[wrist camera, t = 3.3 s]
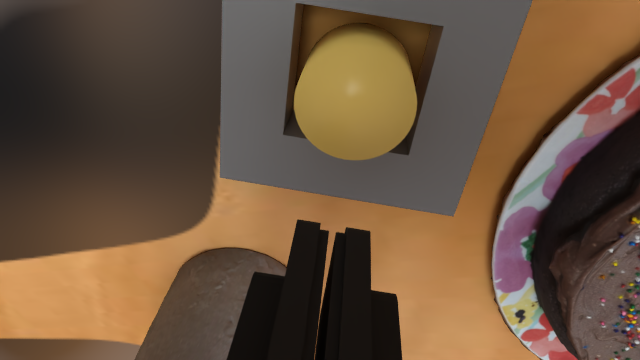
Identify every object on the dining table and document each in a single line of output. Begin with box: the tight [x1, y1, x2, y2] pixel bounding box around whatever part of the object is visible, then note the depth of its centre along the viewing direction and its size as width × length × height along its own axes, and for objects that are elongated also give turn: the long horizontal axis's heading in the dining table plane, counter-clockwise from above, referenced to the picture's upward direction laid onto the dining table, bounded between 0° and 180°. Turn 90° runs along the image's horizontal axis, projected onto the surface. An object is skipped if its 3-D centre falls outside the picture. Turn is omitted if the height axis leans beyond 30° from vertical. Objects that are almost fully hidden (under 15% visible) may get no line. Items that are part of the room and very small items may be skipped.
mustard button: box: [294, 23, 417, 160], centre depth 19 cm, size 5×5×3 cm
